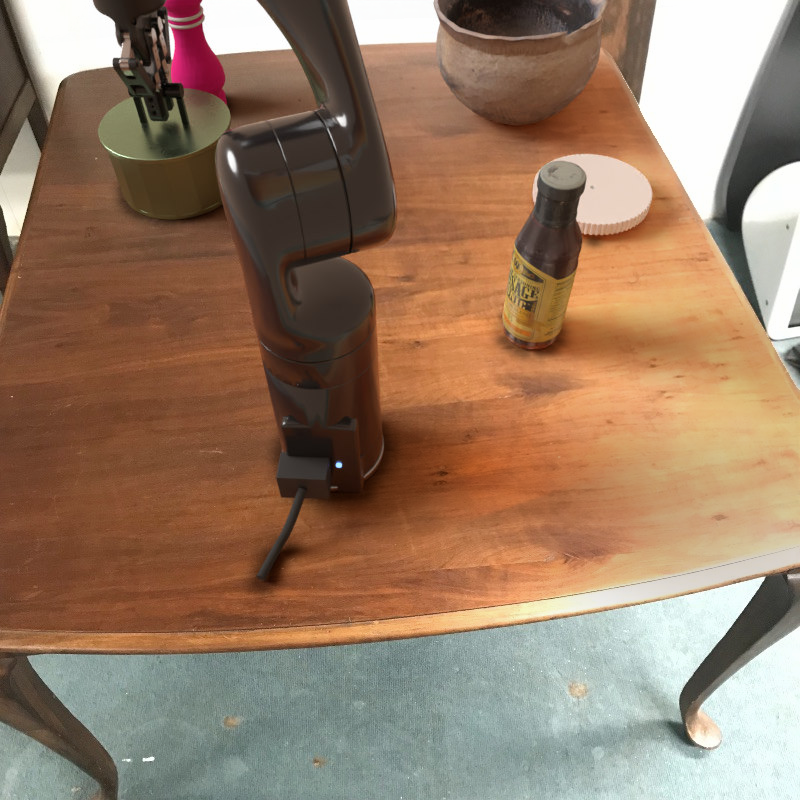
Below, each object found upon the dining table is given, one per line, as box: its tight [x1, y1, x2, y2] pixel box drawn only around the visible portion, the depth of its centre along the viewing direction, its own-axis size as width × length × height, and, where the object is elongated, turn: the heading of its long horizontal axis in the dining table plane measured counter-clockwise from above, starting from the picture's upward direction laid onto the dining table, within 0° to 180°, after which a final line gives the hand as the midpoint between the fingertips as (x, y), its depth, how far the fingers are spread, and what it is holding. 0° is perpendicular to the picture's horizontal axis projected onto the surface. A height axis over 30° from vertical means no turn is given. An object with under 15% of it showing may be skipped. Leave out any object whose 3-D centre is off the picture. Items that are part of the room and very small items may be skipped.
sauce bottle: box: [501, 160, 587, 350], centre depth 73 cm, size 6×6×20 cm
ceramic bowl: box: [432, 0, 611, 126], centre depth 103 cm, size 22×22×15 cm
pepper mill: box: [163, 0, 228, 106], centre depth 102 cm, size 7×7×20 cm
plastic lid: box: [531, 153, 653, 236], centre depth 93 cm, size 14×14×2 cm
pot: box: [107, 128, 231, 221], centre depth 95 cm, size 14×14×8 cm
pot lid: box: [97, 82, 232, 164], centre depth 90 cm, size 15×15×6 cm
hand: (162, 113), depth 91 cm, fingers closed on pot lid
